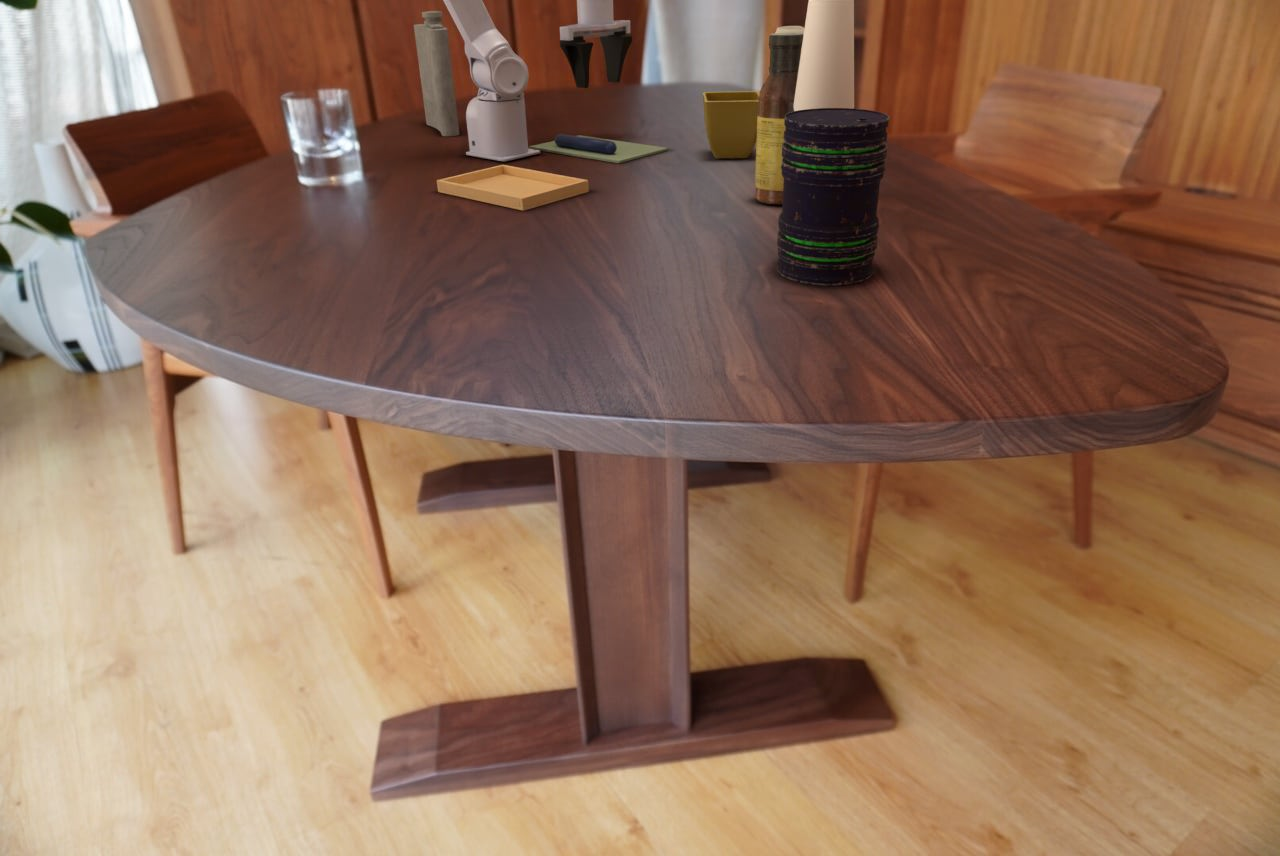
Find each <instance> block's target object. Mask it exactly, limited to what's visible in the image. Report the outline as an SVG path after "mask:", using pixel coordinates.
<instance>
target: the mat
mask: <svg viewBox="0 0 1280 856" xmlns="http://www.w3.org/2000/svg"><path fill="white" fill-rule="evenodd" d="M577 136H579V137H586V138H592V139H599V140H606V141H612V142H614V143H615V144H616V146H617V150H616V152H615V153H614V154H604V153H598V152H591V151H585V150H579V149H572V148H566V147H560V146H558V145H556V143H555V140H552V141H547V142H542V143H537V144H534V145H533V144H532V145H530V146H529V145H528V149H534V150H539V151H540V152H547V153H553V154H557V155H565V156H571V157H577V158H583V159H589V160H596V161H603V162H607V163H608V162H609V163H613V164H614V163H615V164H622V163H626V162H630V161H633V160H636V159H641V158H645V157H649V156H652V155H656V154H660V153H663V152H664V153H665V152H667V151H669V148H668V147H664V146H659V145H651V144H644V143H638V142H637V143H636V142H630V141H622V140H615V139H608V138H600V137H595V136H588V135H580V134H578V135H577Z"/></svg>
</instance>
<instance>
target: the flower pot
mask: <svg viewBox="0 0 1280 856" xmlns="http://www.w3.org/2000/svg"><path fill="white" fill-rule="evenodd" d="M759 94H760V91H753V90H751V91H749V90H748V91H746V90H745V91H705V92H703V93H702V104H703V116H704V117H703V119H704V127H705V132H706V136H707V141H708V145H709V148H710V151H711V153H712V155H713V157H714V158H715V159H718V160H722V159H748V158H749V157H750V155H751V153H752V152H753V150H754V148H755V147H756V142H757V116H758V114H759Z"/></svg>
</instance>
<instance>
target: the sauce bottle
mask: <svg viewBox="0 0 1280 856" xmlns="http://www.w3.org/2000/svg"><path fill="white" fill-rule="evenodd" d="M768 37H769V38H768V49H769V67H768V72H769V75H768V76H767V78H766V80H765V82H764V83H762V86H761V88H760V90H759V93H760V94H759V114H758V116H757V141H756V143H755V169H754V171H755V173H754V174H755V175H754V187H755V192H754V193H755V194H754V196H755V199H756V200H757V201H758V202H759V203H762V204H766V205H781V206H782V205H783V186H784V178H783V176H782V169H781V166H782V159H783V157H782V144H783V143H784V131H785V130H786V126H785V125H784V121H785V115H786V114H788V113H790V112H794V107H793V105H794V98H795V91H796V84H797V77H798V70H799V63H800V56H801V48H802V43H803V34H802V33H775V32H774V33H770V34H769V35H768Z"/></svg>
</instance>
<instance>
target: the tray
mask: <svg viewBox="0 0 1280 856" xmlns="http://www.w3.org/2000/svg"><path fill="white" fill-rule="evenodd" d="M436 186H437V192H438V193H442V194H444V195H445V194H446V195H450V196H455V197H459V198H464V199H468V200H473V201H478V202H483V203H486V204H491V205H496V206H500V207H506V208H509V209H514V210H518V211H522V212H524V211H527V210H531V209H534V208H538V207H541V206H545V205H548V204H551V203H555V202H559V201H562V200H566V199H568V198H572V197H575V196H576V197H577V196H580V195H582V194H586V193H589V192H590V187H589V180H588V179H585V178H578V177H574V176H573V177H572V176H568V175H563V174H562V175H561V174H556V173H551V172H546V171H539V170H535V169H529V168H524V167H519V166H518V167H517V166H512V165H506V164H500V165H496V166H491V167H487V168H482V169H478V170H474V171H470V172H466V173H462V174H458V175H454V176H453V175H452V176H450V177H444V178H440V179H436Z"/></svg>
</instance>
